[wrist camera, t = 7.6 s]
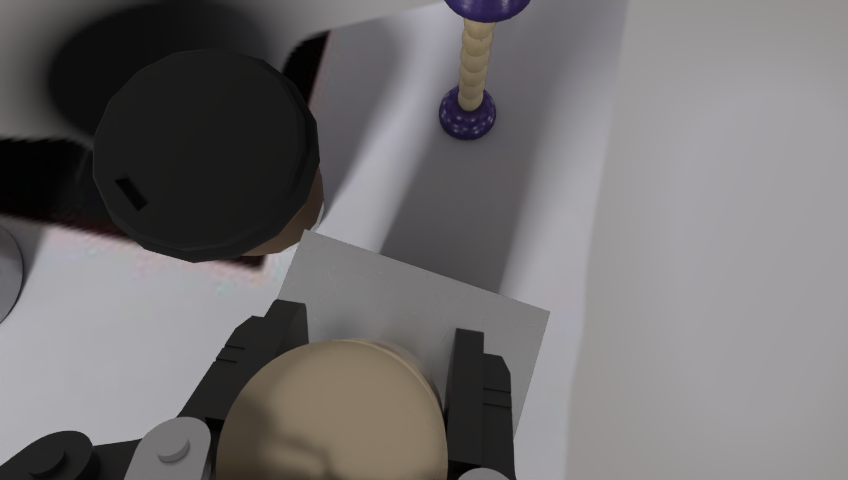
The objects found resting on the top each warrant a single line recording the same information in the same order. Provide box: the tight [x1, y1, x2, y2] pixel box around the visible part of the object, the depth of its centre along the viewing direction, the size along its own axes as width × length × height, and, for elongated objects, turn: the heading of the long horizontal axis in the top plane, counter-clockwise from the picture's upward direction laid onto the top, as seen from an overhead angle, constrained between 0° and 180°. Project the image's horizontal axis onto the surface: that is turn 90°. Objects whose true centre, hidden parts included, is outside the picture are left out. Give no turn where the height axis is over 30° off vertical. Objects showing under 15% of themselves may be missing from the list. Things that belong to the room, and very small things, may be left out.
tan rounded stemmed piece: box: [216, 338, 448, 480], centre depth 17 cm, size 7×7×18 cm
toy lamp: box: [439, 0, 530, 140], centre depth 26 cm, size 5×5×17 cm
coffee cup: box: [93, 48, 324, 263], centre depth 27 cm, size 11×11×12 cm
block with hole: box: [277, 229, 550, 440], centre depth 23 cm, size 9×9×16 cm
